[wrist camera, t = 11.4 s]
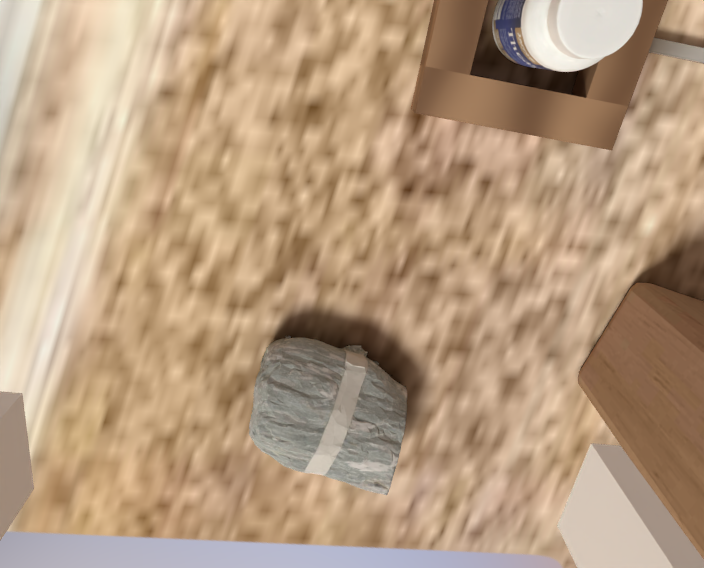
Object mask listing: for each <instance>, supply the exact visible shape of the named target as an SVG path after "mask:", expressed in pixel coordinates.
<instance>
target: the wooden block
mask: <svg viewBox="0 0 704 568" xmlns="http://www.w3.org/2000/svg"><path fill="white" fill-rule="evenodd" d="M578 383H579V385H580V386H581V388H582V389H583V391H584V392H585V394H586V395H587V397H588V398H589V400H590V401H591V402H592V404H593V405H594V407H595V408H596V410H597V411H598V413H599V414H600V416H601V417H602V419H603V420H604V421H605V423H606V424H607V426H608V427H609V429H610V430H611V432H612V433H613V435H614V436H615V438H616V439H617V440H618V442H619V443H620V445H621V446H622V448H623V449H624V451H625V452H626V454H627V455H628V457H629V458H630V459H631V461H632V462H633V463H634V465H635V466H636V468H637V469H638V470H639V472H640V473H641V474H642V476H643V477H644V479H645V480H646V481H647V483H648V484H649V485H650V487H651V488H652V489H653V491H654V492H655V494H656V495H657V496H658V498H659V499H660V500H661V502H662V503H663V505H664V506H665V507H666V509H667V510H668V511H669V513H670V514H671V515H672V517H673V518H674V520H675V521H676V522H677V524H678V525H679V526H680V528H681V529H682V531H683V532H684V533H685V535H686V536H687V537H688V539H689V540H690V542H691V543H692V544H693V546H694V547H695V548H696V550H697V551H698V552H699V554H700V555H701V557H702V558H703V559H704V301H701V300H698V299H695V298H692V297H689V296H686V295H683V294H680V293H677V292H674V291H672V290H669V289H666V288H663V287H660V286H657V285H654V284H651V283H636V284H635V285H634V286H632V287H631V288H630V290H629V291H628V293H627V295H626V296H625V298H624V300H623V301H622V303H621V304H620V306H619V308H618V309H617V311H616V313H615V314H614V316H613V318H612V319H611V321H610V322H609V324H608V326H607V327H606V329H605V331H604V332H603V334H602V335H601V337H600V339H599V340H598V342H597V344H596V345H595V347H594V349H593V350H592V352H591V353H590V355H589V357H588V358H587V360H586V362H585V363H584V365H583V367H582V368H581V370H580V371H579V376H578Z"/></svg>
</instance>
